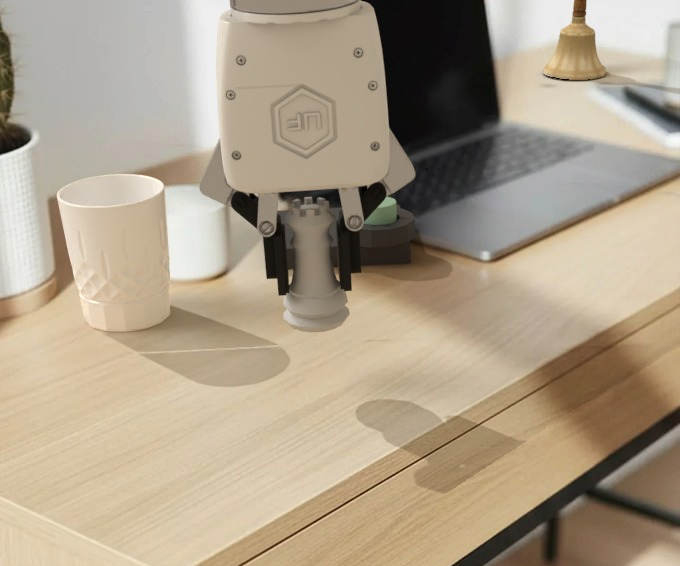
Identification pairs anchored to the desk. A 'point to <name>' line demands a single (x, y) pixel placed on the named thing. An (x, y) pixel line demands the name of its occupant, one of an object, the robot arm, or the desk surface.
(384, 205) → the button
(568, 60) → the hand bell
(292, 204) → the rook chess piece
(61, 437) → the desk surface
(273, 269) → the robot arm
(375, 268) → the desk surface
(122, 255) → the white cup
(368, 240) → the scale
